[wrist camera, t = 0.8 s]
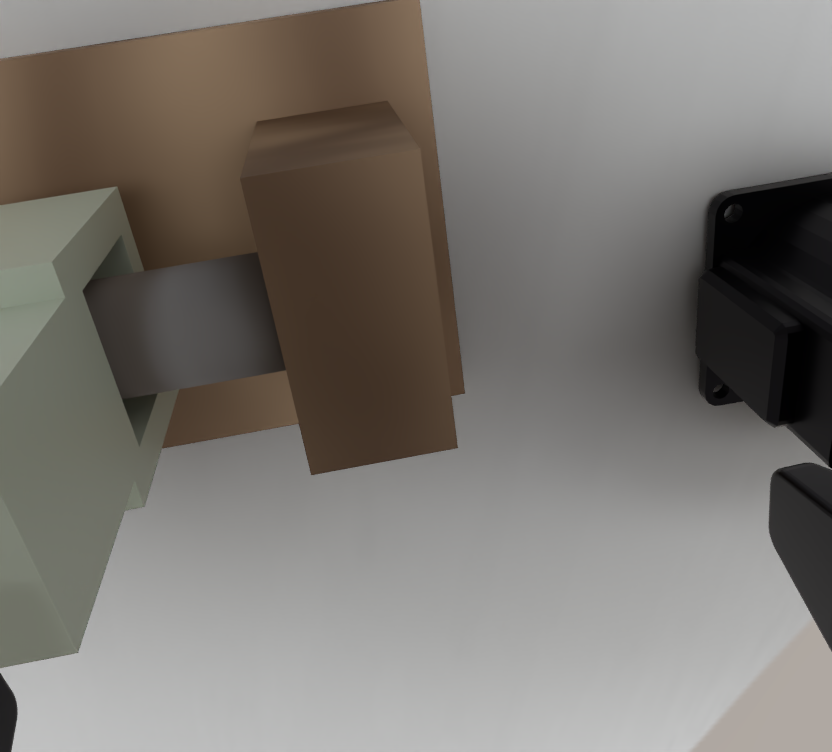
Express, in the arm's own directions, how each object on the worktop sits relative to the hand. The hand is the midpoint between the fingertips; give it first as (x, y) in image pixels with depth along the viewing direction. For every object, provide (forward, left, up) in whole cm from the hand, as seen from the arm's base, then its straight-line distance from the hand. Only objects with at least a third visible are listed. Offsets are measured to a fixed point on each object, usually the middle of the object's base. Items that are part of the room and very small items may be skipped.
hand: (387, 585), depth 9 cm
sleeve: (+6, 0, -10) cm, 12 cm away
